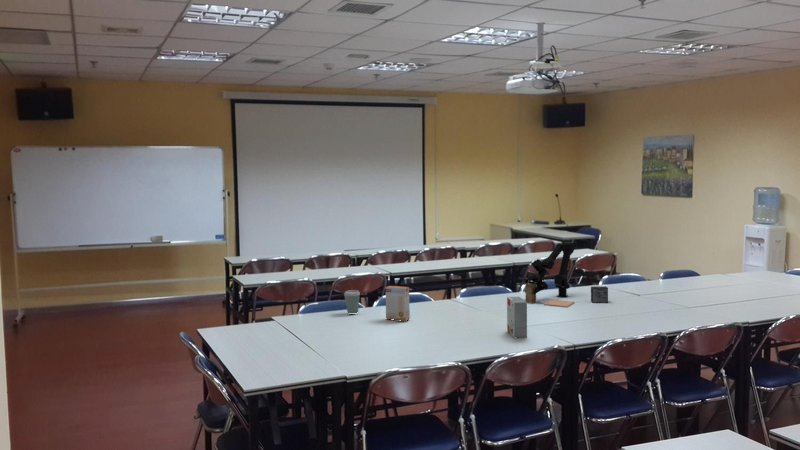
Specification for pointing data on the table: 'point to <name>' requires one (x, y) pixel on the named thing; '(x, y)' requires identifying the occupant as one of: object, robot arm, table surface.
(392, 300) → the cracker box
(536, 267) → the robot arm
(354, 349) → the table surface
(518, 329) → the hard drive box
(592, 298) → the small box
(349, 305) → the disposable coffee cup
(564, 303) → the terracotta mat
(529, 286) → the walnut block
